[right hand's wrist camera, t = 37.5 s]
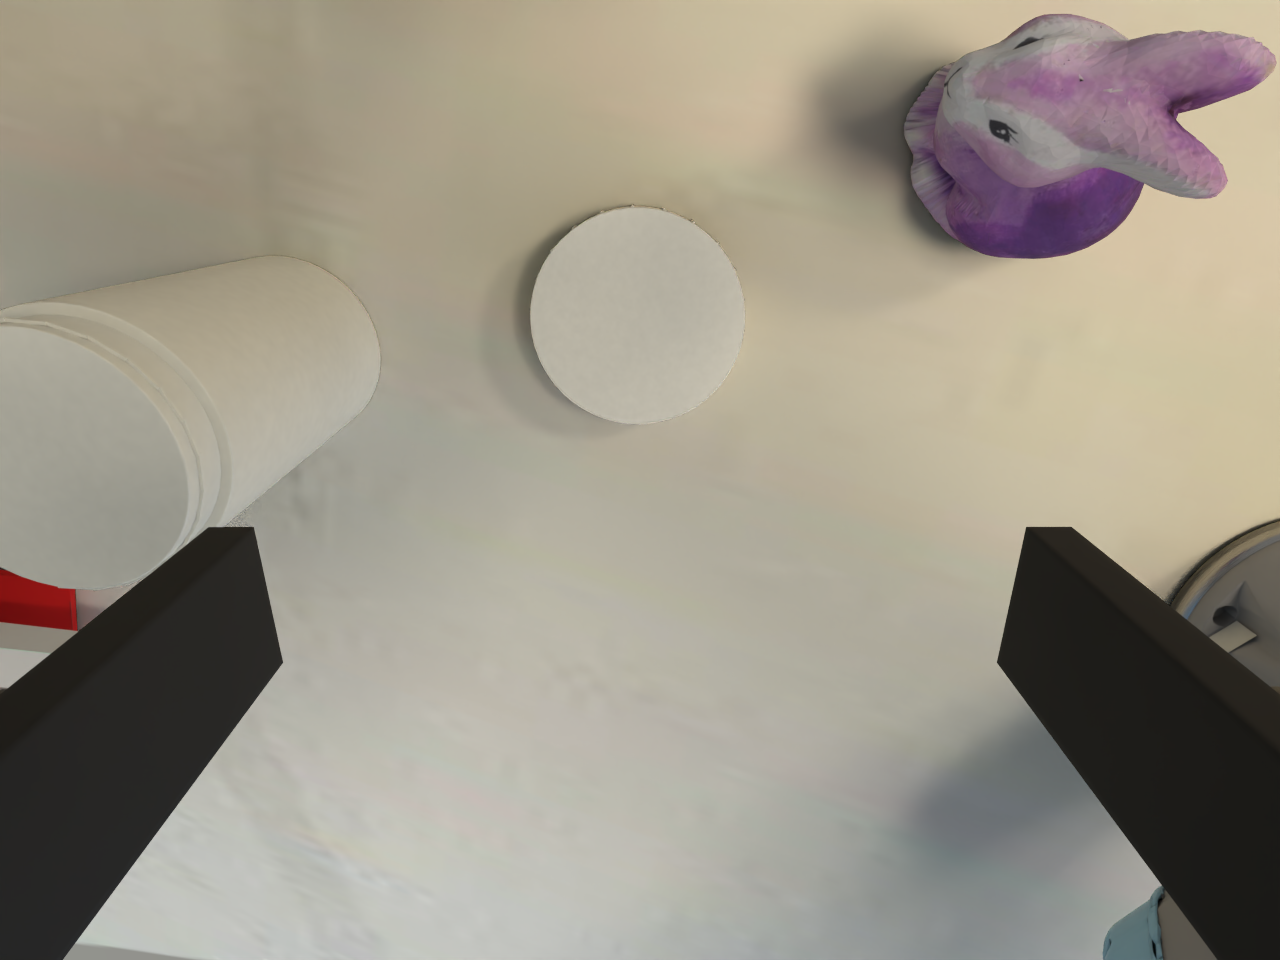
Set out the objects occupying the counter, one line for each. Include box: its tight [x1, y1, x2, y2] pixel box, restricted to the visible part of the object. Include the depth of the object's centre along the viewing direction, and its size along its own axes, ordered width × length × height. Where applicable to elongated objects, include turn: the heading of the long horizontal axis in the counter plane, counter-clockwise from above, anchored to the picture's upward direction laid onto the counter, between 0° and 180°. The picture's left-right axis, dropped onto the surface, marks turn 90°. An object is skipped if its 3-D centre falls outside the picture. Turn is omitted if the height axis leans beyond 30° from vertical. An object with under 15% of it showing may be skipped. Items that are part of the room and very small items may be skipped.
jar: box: [0, 256, 381, 591], centre depth 32 cm, size 10×10×18 cm
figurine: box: [904, 14, 1276, 259], centre depth 29 cm, size 9×10×15 cm
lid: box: [530, 204, 745, 424], centre depth 38 cm, size 11×11×2 cm
